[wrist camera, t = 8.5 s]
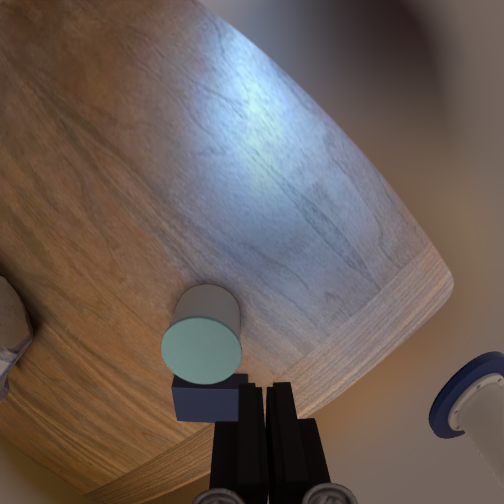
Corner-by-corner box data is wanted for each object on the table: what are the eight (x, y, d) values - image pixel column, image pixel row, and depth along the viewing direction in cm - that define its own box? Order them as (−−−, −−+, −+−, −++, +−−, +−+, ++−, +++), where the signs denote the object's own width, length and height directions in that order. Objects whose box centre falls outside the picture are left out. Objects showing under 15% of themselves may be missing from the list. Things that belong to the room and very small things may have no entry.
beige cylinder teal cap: (180, 313, 39) (168, 257, 31) (240, 315, 39) (242, 258, 32) (171, 394, 31) (150, 354, 24) (240, 397, 32) (242, 358, 24)
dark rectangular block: (247, 374, 38) (248, 389, 35) (247, 407, 40) (247, 423, 37) (174, 372, 38) (170, 387, 35) (179, 405, 39) (176, 420, 37)
